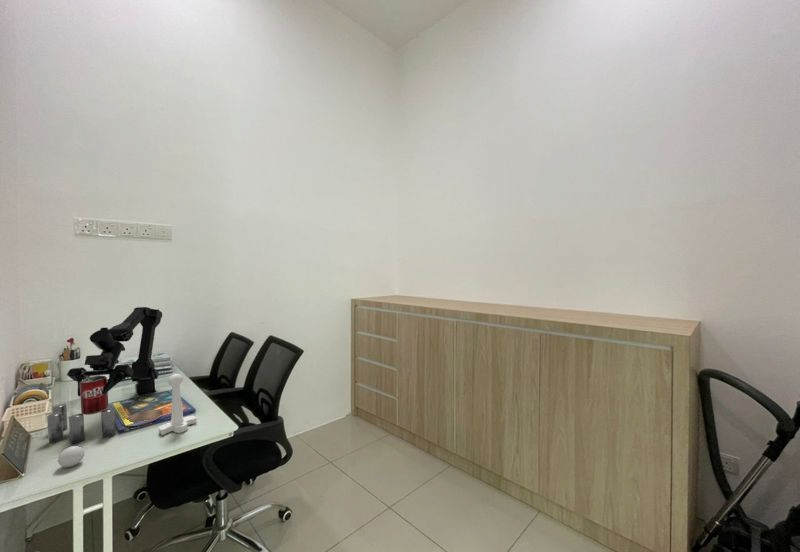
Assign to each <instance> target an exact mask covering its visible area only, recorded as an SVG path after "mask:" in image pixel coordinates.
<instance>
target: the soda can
mask: <svg viewBox="0 0 800 552" xmlns="http://www.w3.org/2000/svg"><path fill="white" fill-rule="evenodd" d="M107 381H108V378H107V376H106V375H96V376H90V377H89V378H86V379H83V380H81V382H80V383H79V384H80V396H79V397H80V414H81V413H82V414H83V415H84V416H91V415H95V414H100V413H101V411H103V410H106V409H109V391H108V392H107V393H106V394H103V391H104V388H105V386H106V384H107Z"/></svg>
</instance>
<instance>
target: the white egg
mask: <svg viewBox="0 0 800 552" xmlns="http://www.w3.org/2000/svg"><path fill="white" fill-rule="evenodd" d="M84 457H85V449H84V448H83V446H82V447H81V446H78V445H72V446H69V447H67V448H65V449H64V450H62V452H60V453H59V455H58V457H57V456H56V457H55V459H57V462H58V464H59V466H61V467H63V468H72V467H75V466H76V465H77V464H79V463H80V462H81V461H83V459H84ZM51 459H53V458H51Z"/></svg>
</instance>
